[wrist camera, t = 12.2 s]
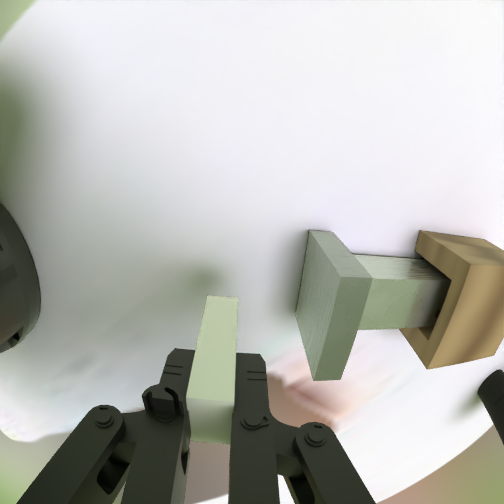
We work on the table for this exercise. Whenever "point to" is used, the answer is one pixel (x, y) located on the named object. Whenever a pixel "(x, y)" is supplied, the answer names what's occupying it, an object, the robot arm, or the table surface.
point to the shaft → (360, 299)
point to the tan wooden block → (462, 301)
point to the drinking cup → (494, 399)
